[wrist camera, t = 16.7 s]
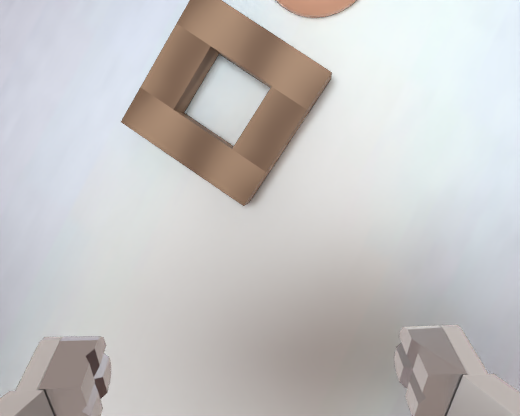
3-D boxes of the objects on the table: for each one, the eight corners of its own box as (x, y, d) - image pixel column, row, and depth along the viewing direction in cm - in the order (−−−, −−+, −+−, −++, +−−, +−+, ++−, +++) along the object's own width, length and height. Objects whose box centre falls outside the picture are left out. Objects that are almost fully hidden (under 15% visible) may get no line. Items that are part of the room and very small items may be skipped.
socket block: (134, 124, 37) (120, 121, 34) (207, -3, 35) (198, -15, 32) (249, 202, 36) (243, 205, 34) (331, 78, 34) (331, 72, 31)
